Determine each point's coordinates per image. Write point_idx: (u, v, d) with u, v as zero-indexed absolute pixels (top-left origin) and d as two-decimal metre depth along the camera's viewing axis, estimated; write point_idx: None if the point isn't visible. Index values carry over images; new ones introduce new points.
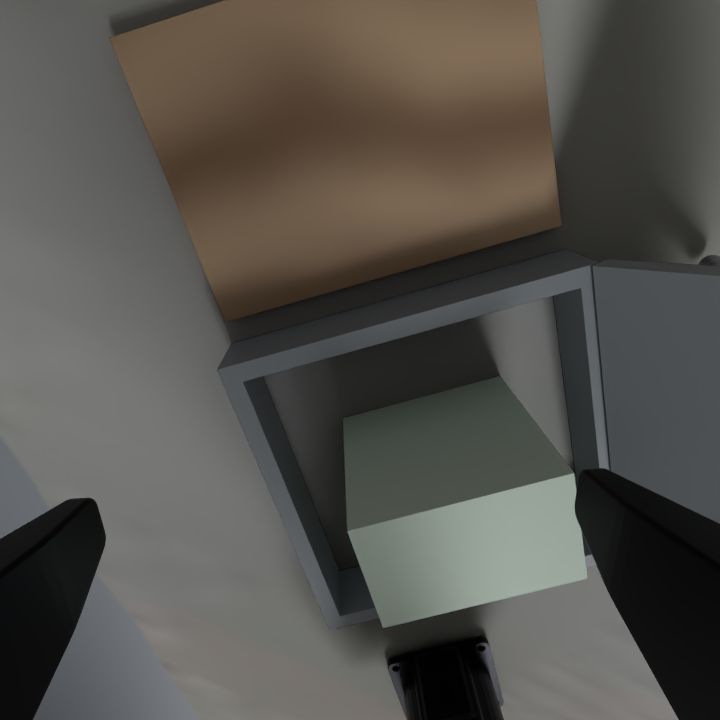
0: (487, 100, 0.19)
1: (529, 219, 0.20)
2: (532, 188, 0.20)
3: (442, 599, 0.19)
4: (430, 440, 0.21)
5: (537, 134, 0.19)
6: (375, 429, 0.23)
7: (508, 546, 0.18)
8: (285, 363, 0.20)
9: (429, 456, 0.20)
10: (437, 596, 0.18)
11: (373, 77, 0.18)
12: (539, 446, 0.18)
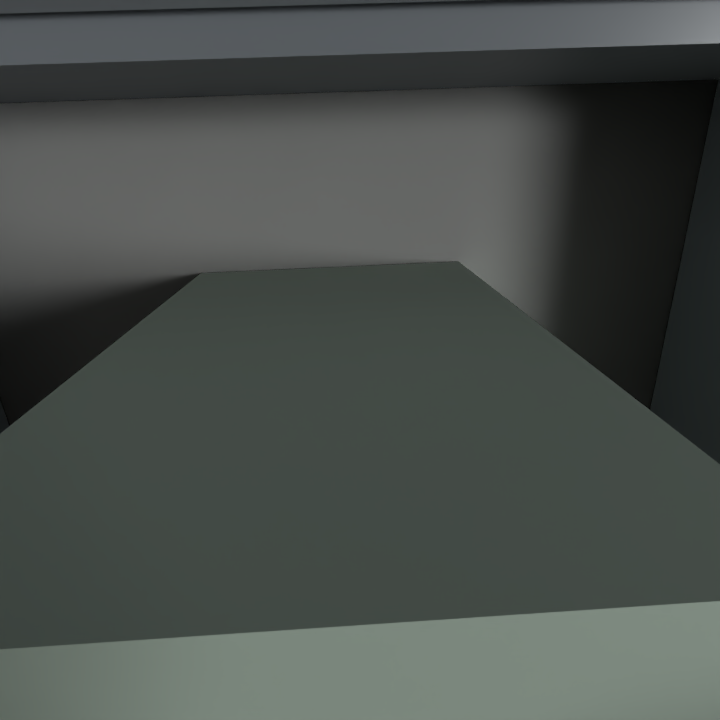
0: None
1: None
2: None
3: None
4: None
5: None
6: None
7: None
8: None
9: None
10: None
11: None
12: None
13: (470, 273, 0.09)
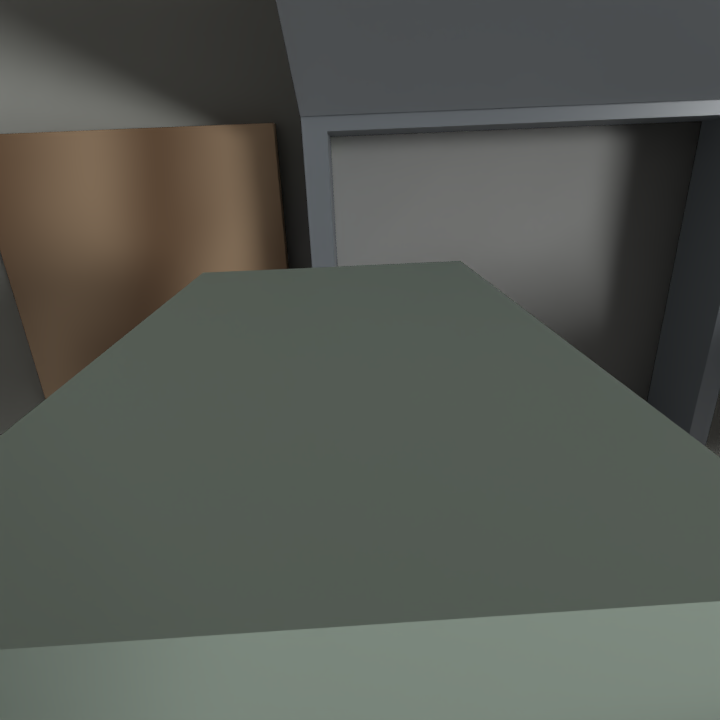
0: (133, 195, 0.18)
1: (259, 162, 0.18)
2: (225, 155, 0.18)
3: None
4: None
5: (170, 143, 0.18)
6: None
7: None
8: None
9: None
10: None
11: (107, 301, 0.20)
12: None
13: (472, 272, 0.09)
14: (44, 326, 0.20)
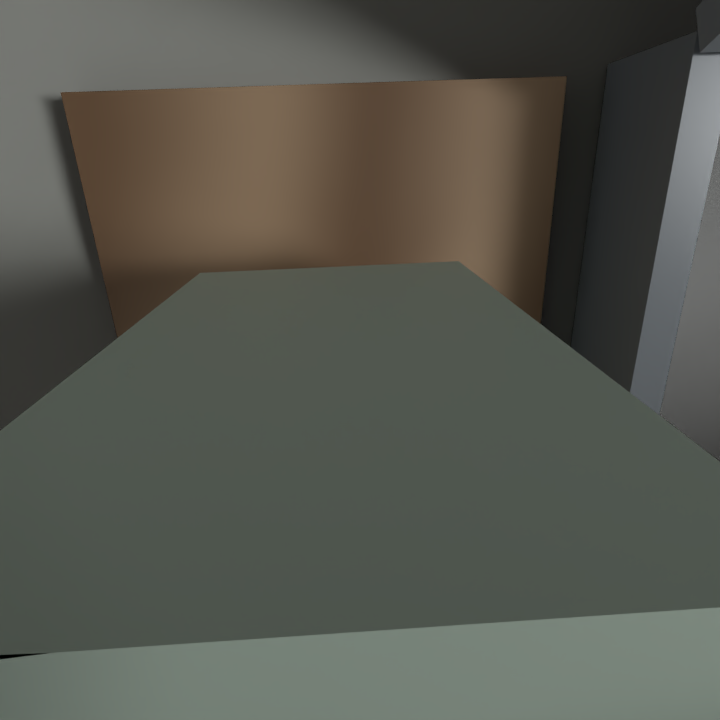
0: (325, 193, 0.11)
1: (533, 141, 0.11)
2: (481, 129, 0.11)
3: None
4: None
5: (397, 109, 0.11)
6: None
7: None
8: None
9: None
10: None
11: None
12: None
13: (471, 273, 0.08)
14: None
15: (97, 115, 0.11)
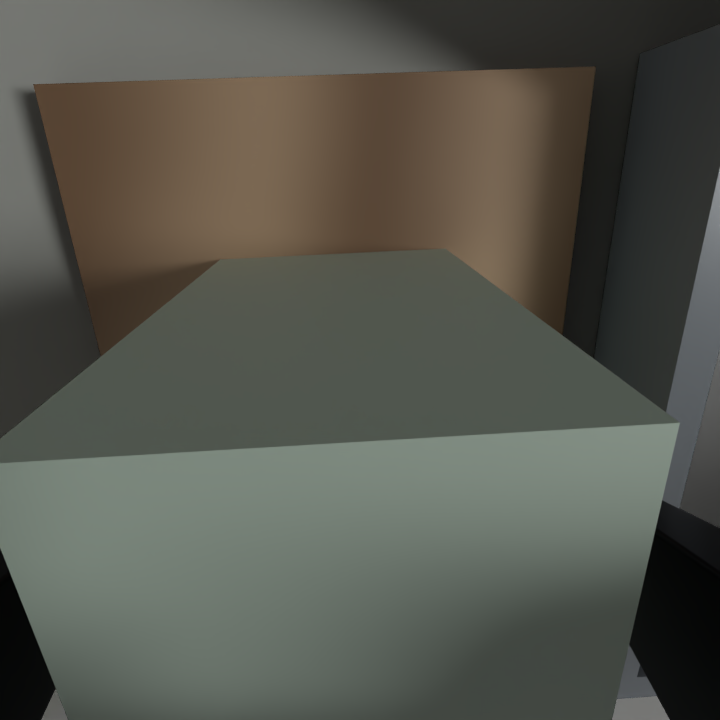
0: (327, 195, 0.10)
1: (557, 139, 0.10)
2: (500, 125, 0.10)
3: None
4: None
5: (407, 103, 0.10)
6: None
7: (350, 697, 0.04)
8: None
9: None
10: None
11: None
12: None
13: (454, 257, 0.10)
14: None
15: (74, 110, 0.10)
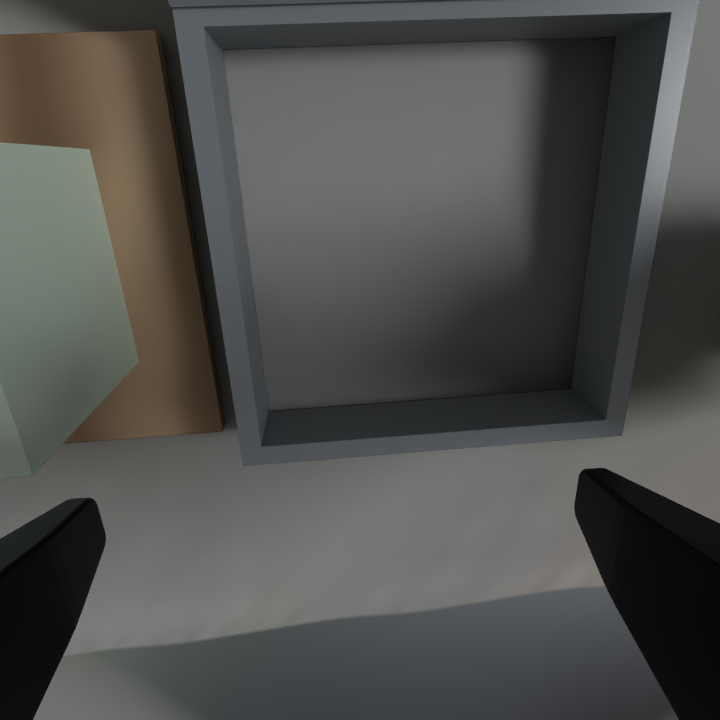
0: (2, 113, 0.17)
1: (143, 76, 0.16)
2: (104, 67, 0.16)
3: None
4: None
5: (40, 52, 0.16)
6: None
7: None
8: (247, 403, 0.18)
9: None
10: None
11: None
12: None
13: (72, 148, 0.16)
14: None
15: None
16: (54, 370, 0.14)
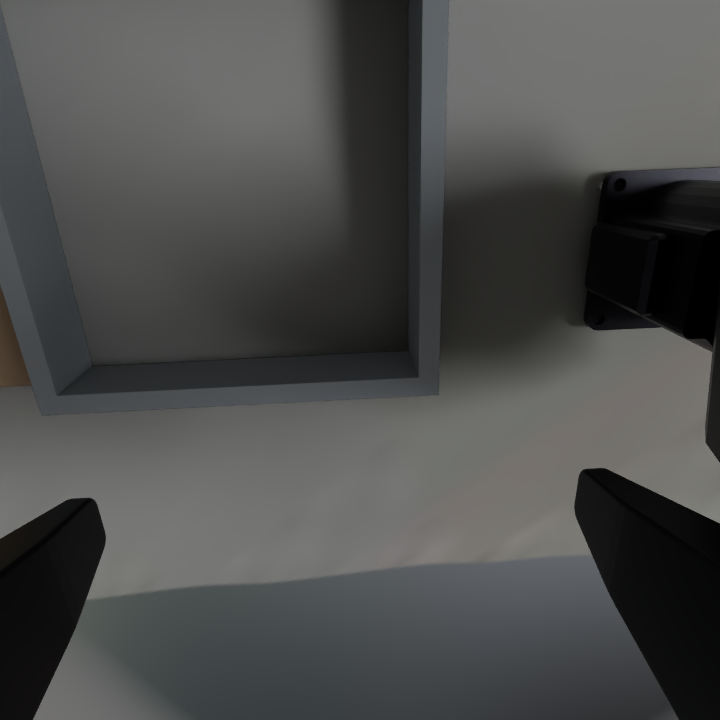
0: None
1: None
2: None
3: None
4: None
5: None
6: None
7: None
8: (35, 349, 0.18)
9: None
10: None
11: None
12: None
13: None
14: None
15: None
16: None
